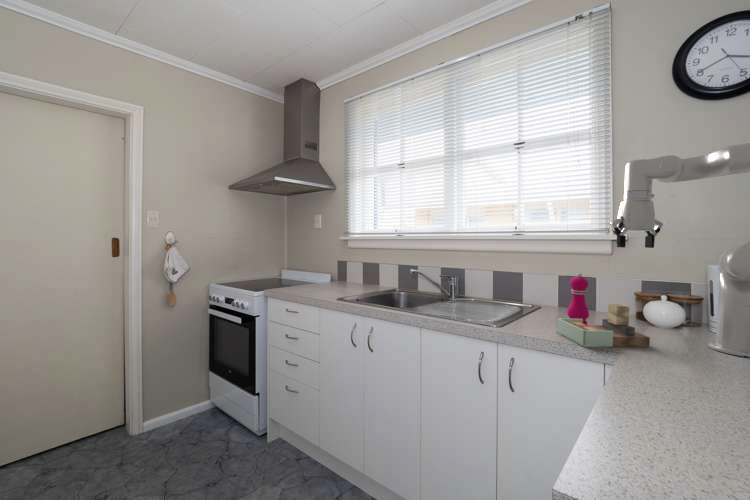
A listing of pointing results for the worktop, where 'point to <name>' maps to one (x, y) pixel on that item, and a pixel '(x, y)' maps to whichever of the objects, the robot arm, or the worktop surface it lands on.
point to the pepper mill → (578, 299)
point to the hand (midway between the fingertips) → (635, 247)
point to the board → (625, 338)
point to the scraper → (618, 320)
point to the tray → (584, 334)
